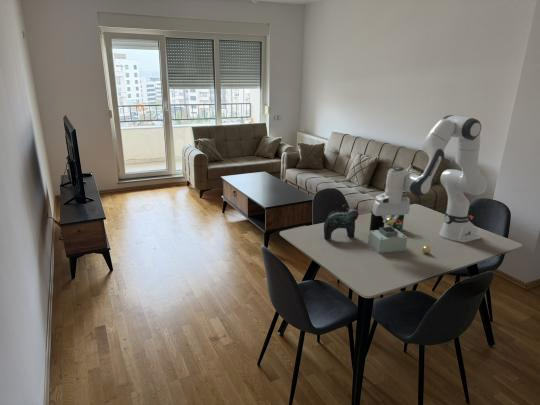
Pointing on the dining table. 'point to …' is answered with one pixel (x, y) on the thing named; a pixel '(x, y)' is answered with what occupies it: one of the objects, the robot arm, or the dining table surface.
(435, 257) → the dining table surface
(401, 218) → the canned tomato
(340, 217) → the dark green animal figurine
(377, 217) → the aerosol can
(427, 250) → the bead
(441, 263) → the dining table surface
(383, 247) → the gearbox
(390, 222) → the bead
